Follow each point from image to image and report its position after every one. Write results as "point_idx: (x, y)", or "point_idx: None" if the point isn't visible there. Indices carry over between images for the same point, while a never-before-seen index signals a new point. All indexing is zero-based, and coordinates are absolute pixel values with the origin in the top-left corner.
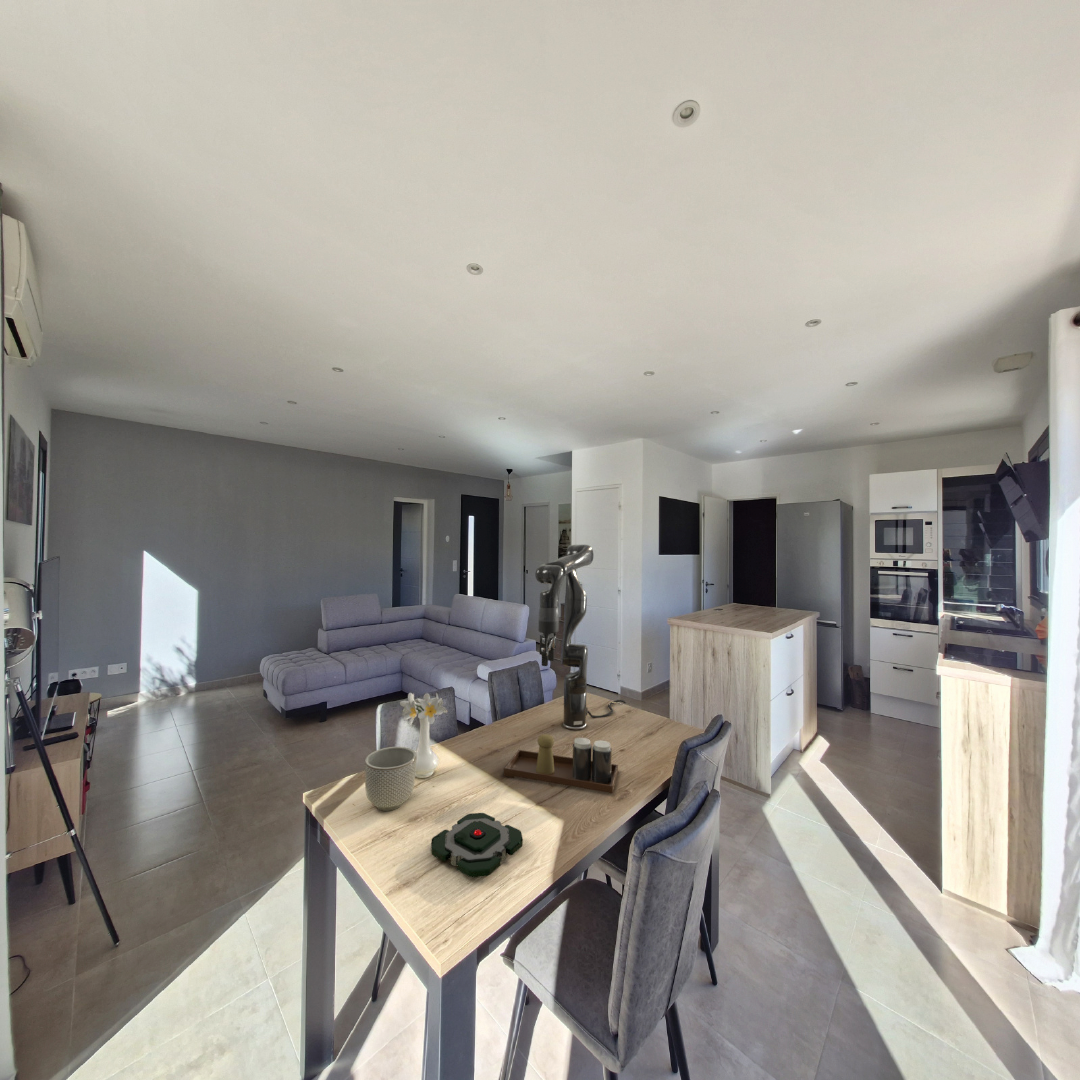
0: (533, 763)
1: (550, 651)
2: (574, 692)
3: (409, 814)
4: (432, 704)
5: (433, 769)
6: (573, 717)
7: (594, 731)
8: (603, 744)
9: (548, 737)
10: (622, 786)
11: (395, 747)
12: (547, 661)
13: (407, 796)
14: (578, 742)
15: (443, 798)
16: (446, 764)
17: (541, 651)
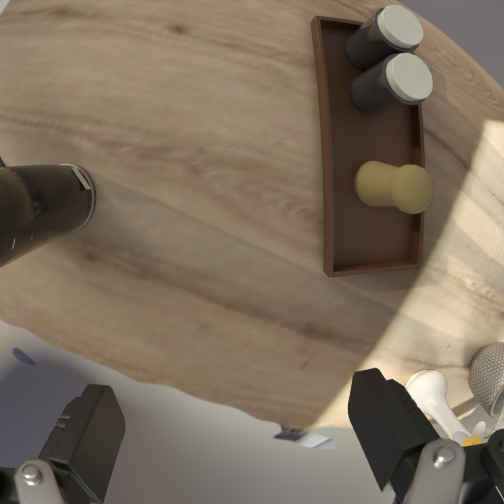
0: (354, 220)
1: (91, 484)
2: (28, 202)
3: (496, 325)
4: None
5: (435, 370)
6: (77, 193)
7: (81, 131)
8: (406, 21)
9: (426, 180)
10: (363, 18)
11: (492, 409)
12: (395, 395)
13: (499, 342)
14: (426, 86)
15: (473, 313)
16: (386, 375)
17: (491, 491)
